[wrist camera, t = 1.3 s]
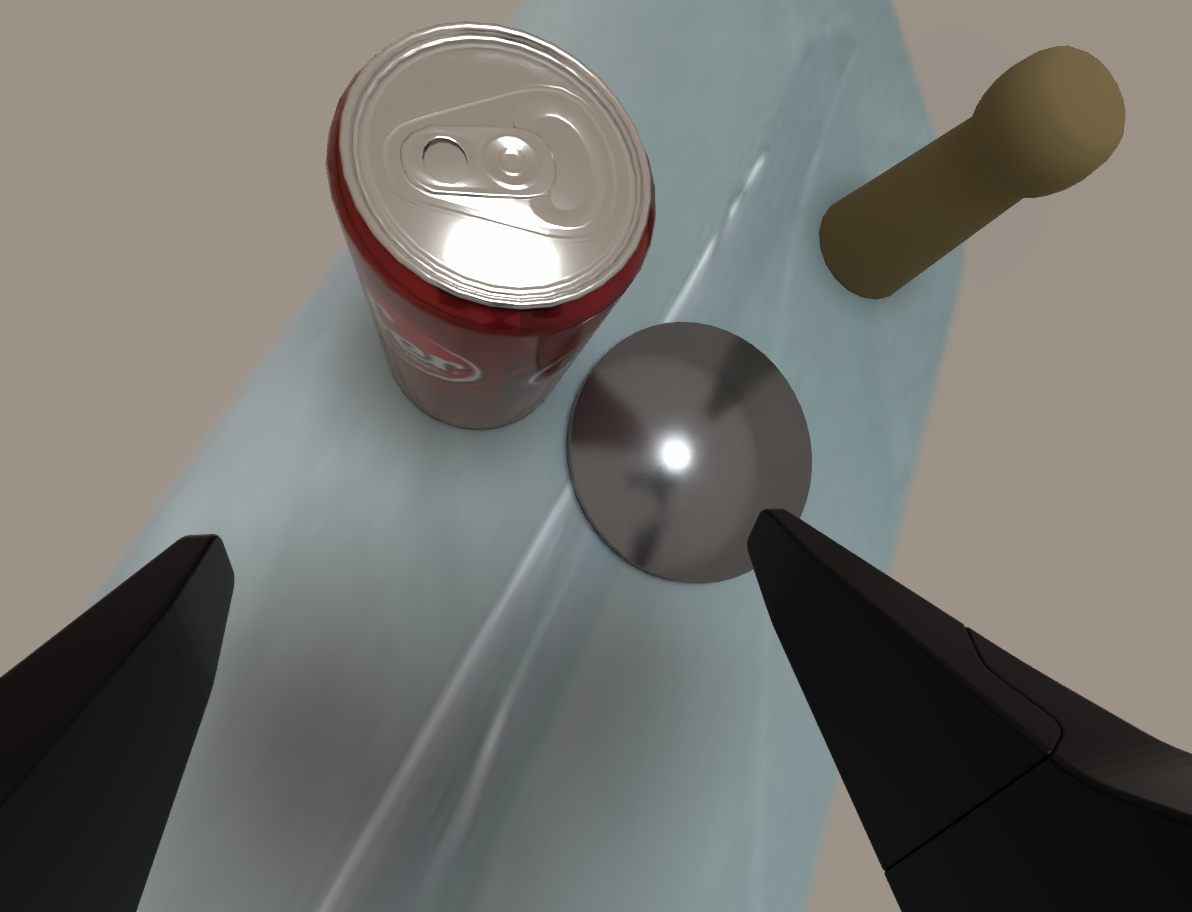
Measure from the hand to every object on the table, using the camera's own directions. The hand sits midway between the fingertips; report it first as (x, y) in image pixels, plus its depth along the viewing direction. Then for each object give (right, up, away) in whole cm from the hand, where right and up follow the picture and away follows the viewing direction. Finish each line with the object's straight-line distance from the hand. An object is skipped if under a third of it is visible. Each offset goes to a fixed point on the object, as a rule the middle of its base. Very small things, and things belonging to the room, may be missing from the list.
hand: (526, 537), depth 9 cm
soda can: (-4, +6, +14) cm, 15 cm away
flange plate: (+6, +2, +16) cm, 17 cm away
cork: (+16, +13, +21) cm, 29 cm away
